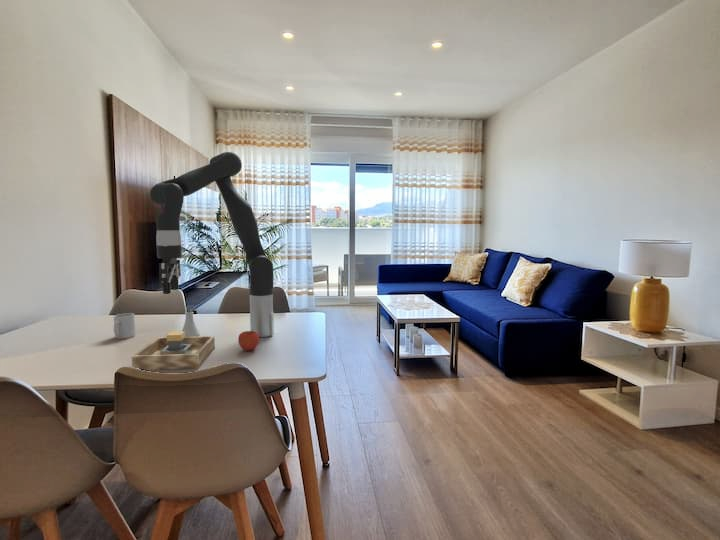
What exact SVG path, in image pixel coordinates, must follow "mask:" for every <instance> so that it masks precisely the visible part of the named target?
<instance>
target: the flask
mask: <svg viewBox="0 0 720 540" xmlns="http://www.w3.org/2000/svg"><path fill="white" fill-rule="evenodd" d="M184 315H185V322H184V325H183V327H182V329H181V332H182V331H185V337H200V336H201V334H200V332H199V330H198V327H197V324H196V323H195V319H194V311H186V312H184Z"/></svg>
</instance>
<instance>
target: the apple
mask: <svg viewBox="0 0 720 540" xmlns="http://www.w3.org/2000/svg"><path fill="white" fill-rule="evenodd" d="M252 330H253V329H252ZM237 340H238V341H237V342H238V343H239V344H238V345H239V346H240V348H241V349H242V350H244V351H246V352H250V351H253V350H254V349H256V348H257V347H258V344H259V342H260V337H259V335H258V334H257V333H256V332H254V331H250V330H246V331H242V332H240V333H239V335H238V339H237Z"/></svg>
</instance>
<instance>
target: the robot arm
mask: <svg viewBox="0 0 720 540" xmlns="http://www.w3.org/2000/svg"><path fill="white" fill-rule="evenodd" d="M242 165H243V163H242V160H241V158H240V156H238V154H237V153H235V152H233V151H225V152H221V153H219V154H218V155H215V156H213V157H211V158H210V160H209V163H208V164H206V165H203V166H201V167H198V168H195V169H192V170H190V171H187V172H185V173H183V174H181V175H179V176H177V177H175V178H171V179H168V180H164V181H160V182H159V183H156V184H155V185H153V186H152V187H151V188H150V192H149V197H150V200H151V201H152V202H153V203H154V204H156V205H159V206H164V207H163V211H162V212H161V211H160V212H159V213H158V214H156V219H155V221H156V239H155V240H156V256H157V259H162V262H159V263H158V280H159V282H161V283H162V293H163V295H170V294H171V292H172V291H171V290H173V291H178V290H179V289H180V285H179V279H180V277H181V276H182V273H181V260H180V259H181V258H182V257H183V253H182V236H181V230H180V229H181V227H180V225H181V224H180V216H181V213H182V209H183V205H184V204H183V203H184V199H185V197H187V196H188V197H189V196H190V195H192V194H195V193H196V192H198V191H200V190H202V189H203V188H206V187H207V186H209V185H210V184H211V185H212V183H214V182H215V184H216V185H217V188H218V190H219V192H220V194H221V197H222V199H223V201H224V204H225V207H226V209H227V212H228V216H229V217H230V221H231V223H232V227H233V228H234V231H235V233H236V235H237V237H238V240H239V241H240V243H241V245H242V248H243V250H244V254H245V257H246V261H247V266H248V270H249V281H250V282H249V314H250V316H249V318H250V319H249V321H250V322H249V323H250V325H249V326H250V330H249V331H254V332H256V333H257V334H258V335H259V338H267V337H273V336H274V333H275V328H274V327H275V326H274V325H275V324H274V323H275V322H274V321H275V319H274V317H275V316H274V315H275V314H274V309H273V307H274V304H273V303H274V300H273V294H274V293H273V290H274V265H273V262H272V260H271V259H270V258H268V255H267V254H266V251H265V249H264V247H263V244H262V243H261V238H260V233H259V232H260V231H259V227H258V223H257V219H256V216H255V214H254V211H253V208H252V206H251V204H249V202H248V201H247V200H246V198H244V197H243V195H241V194H240V193H239V192H238V191H237V189H236V188H235V186H234V183H233V181H232V178H231V177H234V176H236V175H238V174H239V173H240V171H241V169H242V167H243V166H242ZM252 329H253V330H252Z"/></svg>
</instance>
